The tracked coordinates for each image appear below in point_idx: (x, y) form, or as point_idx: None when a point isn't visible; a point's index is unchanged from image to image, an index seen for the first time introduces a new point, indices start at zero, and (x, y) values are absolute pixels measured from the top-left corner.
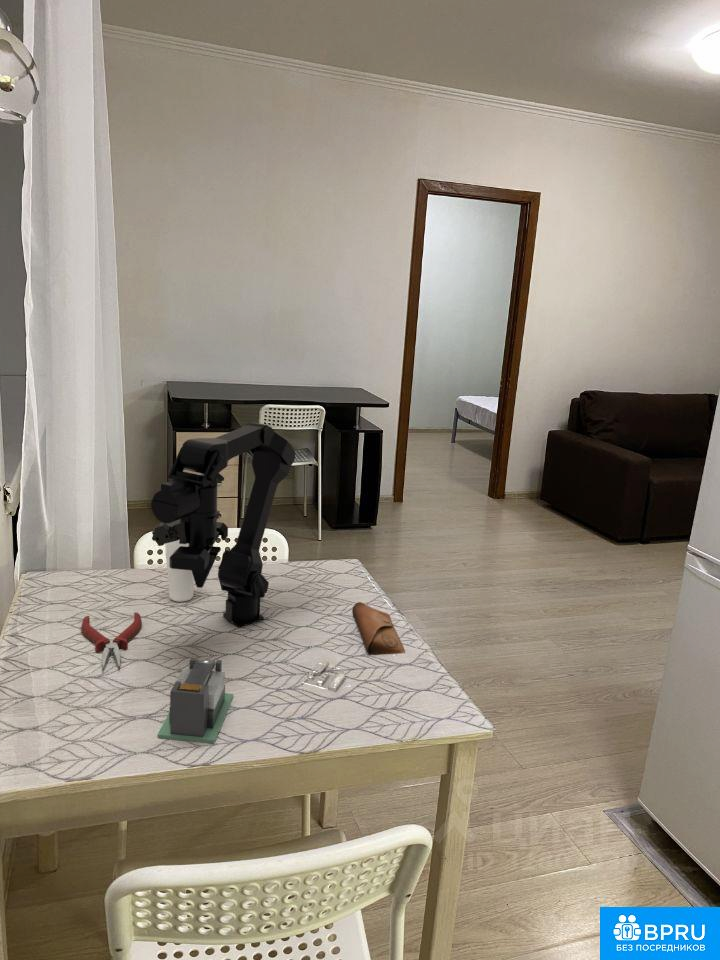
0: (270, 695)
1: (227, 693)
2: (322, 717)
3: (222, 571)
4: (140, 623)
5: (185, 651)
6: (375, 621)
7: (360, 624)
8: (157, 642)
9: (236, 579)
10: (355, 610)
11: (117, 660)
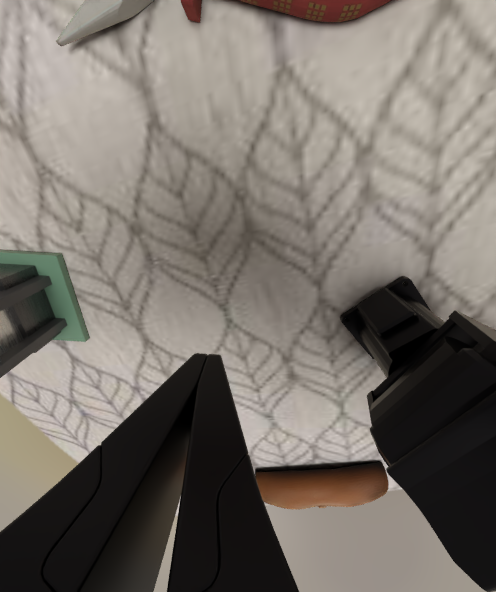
0: (117, 381)
1: (82, 333)
2: (95, 430)
3: (482, 390)
4: (348, 7)
5: (220, 221)
6: (310, 505)
7: (317, 482)
8: (255, 126)
9: (403, 420)
10: (368, 479)
11: (75, 17)
